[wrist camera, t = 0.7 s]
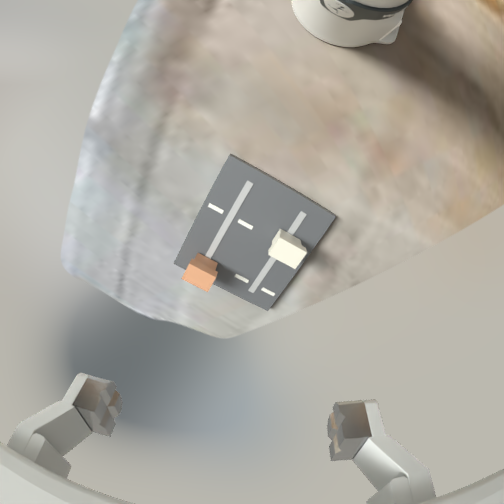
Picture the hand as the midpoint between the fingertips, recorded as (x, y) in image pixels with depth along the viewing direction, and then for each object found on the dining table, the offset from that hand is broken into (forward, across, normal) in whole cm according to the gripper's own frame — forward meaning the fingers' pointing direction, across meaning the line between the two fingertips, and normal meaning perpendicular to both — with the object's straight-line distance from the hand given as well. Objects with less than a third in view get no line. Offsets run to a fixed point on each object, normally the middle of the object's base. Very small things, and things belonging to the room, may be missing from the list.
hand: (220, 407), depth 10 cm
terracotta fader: (+35, +8, +13) cm, 39 cm away
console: (+37, +1, +9) cm, 38 cm away
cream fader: (+35, -5, +9) cm, 37 cm away
